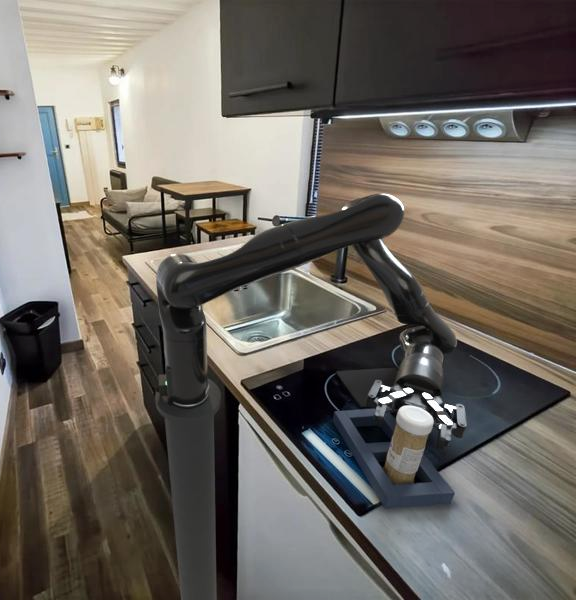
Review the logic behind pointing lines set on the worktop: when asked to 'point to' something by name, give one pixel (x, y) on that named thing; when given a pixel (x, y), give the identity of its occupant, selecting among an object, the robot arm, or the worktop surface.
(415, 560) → the worktop surface
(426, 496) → the holder
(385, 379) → the mat
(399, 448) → the sprinkles bottle
